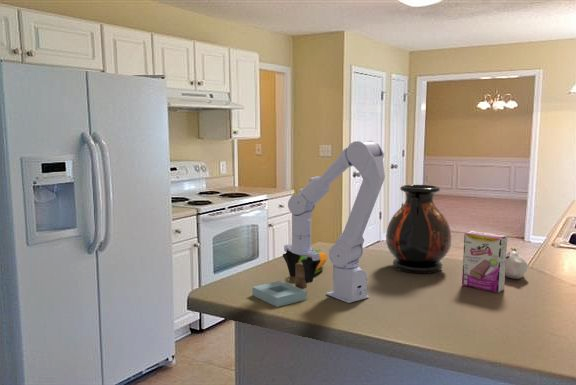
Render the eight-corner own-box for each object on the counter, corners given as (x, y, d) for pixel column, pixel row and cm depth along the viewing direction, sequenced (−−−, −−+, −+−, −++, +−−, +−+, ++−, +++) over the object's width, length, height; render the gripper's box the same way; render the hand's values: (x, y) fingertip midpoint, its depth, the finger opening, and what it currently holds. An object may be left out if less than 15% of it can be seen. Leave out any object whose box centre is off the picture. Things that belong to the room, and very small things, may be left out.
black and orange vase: (394, 257, 187) (396, 182, 184) (454, 264, 178) (458, 185, 175) (377, 271, 168) (379, 188, 165) (444, 280, 159) (448, 191, 155)
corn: (288, 254, 160) (315, 242, 177) (287, 278, 161) (314, 263, 178) (310, 259, 156) (335, 246, 174) (308, 282, 158) (333, 267, 175)
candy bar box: (461, 285, 153) (463, 232, 151) (468, 282, 157) (470, 230, 155) (498, 293, 146) (501, 237, 144) (505, 290, 149) (508, 235, 147)
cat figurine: (507, 242, 170) (515, 247, 155) (529, 256, 168) (539, 262, 153) (490, 265, 171) (496, 272, 156) (512, 279, 169) (520, 288, 155)
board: (306, 299, 140) (306, 290, 140) (277, 307, 134) (277, 297, 134) (280, 288, 150) (280, 280, 150) (252, 295, 144) (252, 286, 144)
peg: (309, 287, 151) (309, 264, 151) (300, 289, 149) (300, 266, 149) (301, 284, 154) (302, 262, 153) (293, 286, 152) (293, 263, 151)
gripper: (327, 237, 147) (327, 282, 148) (296, 229, 158) (296, 271, 160) (308, 240, 142) (308, 287, 144) (278, 231, 154) (278, 275, 155)
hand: (301, 279), depth 152 cm, fingers open, 7 cm apart
